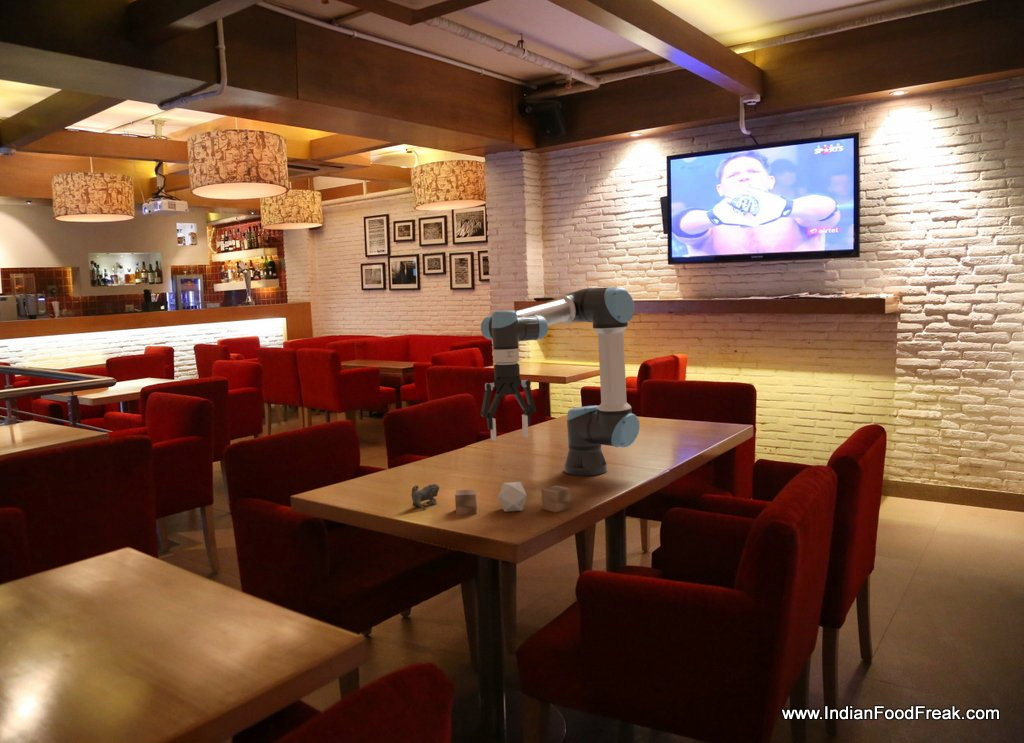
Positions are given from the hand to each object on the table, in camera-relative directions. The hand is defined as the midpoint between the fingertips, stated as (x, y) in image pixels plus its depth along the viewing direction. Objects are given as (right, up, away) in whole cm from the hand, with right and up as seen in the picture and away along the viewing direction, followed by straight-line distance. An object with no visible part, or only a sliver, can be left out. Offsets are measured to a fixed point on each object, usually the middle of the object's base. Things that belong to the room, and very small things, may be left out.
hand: (509, 438), depth 233 cm
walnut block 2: (+14, -21, +2) cm, 25 cm away
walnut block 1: (-13, -22, +2) cm, 26 cm away
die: (+1, -22, +2) cm, 22 cm away
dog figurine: (-26, -22, +11) cm, 36 cm away
